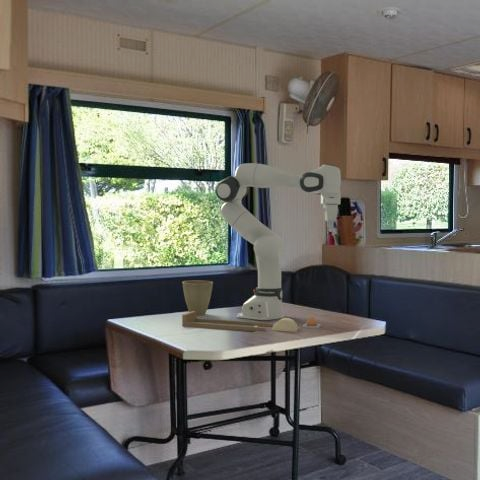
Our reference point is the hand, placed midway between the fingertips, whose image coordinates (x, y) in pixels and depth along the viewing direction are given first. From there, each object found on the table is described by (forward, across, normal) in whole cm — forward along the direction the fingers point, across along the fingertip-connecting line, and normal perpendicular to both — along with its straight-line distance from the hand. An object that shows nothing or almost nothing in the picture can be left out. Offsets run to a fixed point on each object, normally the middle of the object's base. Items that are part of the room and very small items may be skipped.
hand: (330, 231), depth 265 cm
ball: (+41, +13, -8) cm, 43 cm away
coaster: (+41, +13, -8) cm, 44 cm away
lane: (+46, +15, -39) cm, 62 cm away
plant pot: (+42, -17, -62) cm, 77 cm away
